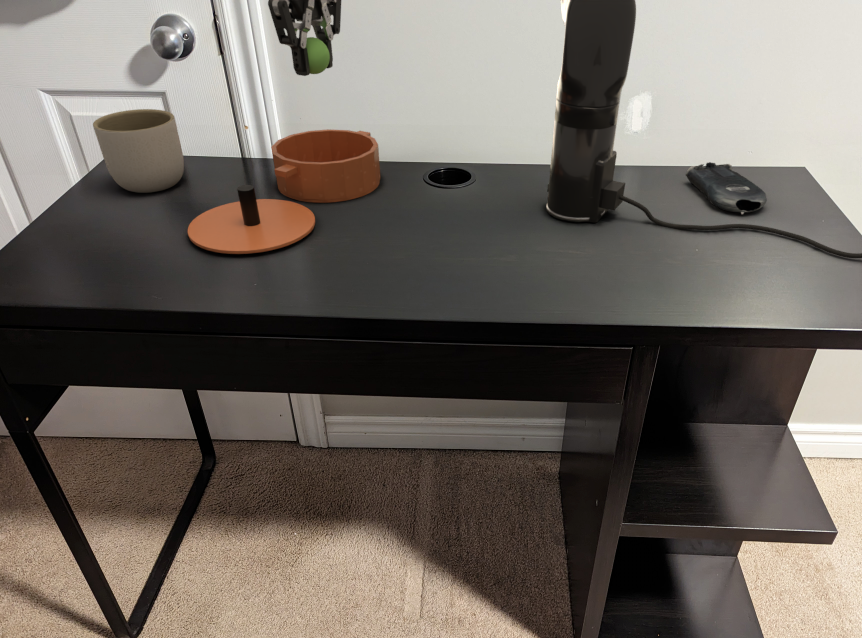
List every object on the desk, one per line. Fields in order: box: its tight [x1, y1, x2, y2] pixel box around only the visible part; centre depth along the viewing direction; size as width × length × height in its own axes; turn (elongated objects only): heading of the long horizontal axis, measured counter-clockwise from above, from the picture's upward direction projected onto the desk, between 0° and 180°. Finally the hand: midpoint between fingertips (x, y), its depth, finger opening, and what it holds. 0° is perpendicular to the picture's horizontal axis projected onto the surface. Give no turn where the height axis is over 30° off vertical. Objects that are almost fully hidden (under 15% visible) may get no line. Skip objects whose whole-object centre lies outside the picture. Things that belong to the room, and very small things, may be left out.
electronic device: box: [685, 161, 768, 215], centre depth 114 cm, size 9×6×15 cm
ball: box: [305, 36, 330, 75], centre depth 102 cm, size 5×5×5 cm
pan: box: [271, 128, 381, 204], centre depth 117 cm, size 18×23×6 cm
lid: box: [187, 184, 316, 255], centre depth 102 cm, size 19×19×7 cm
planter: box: [92, 108, 185, 194], centre depth 115 cm, size 12×12×11 cm
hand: (314, 70), depth 103 cm, fingers closed on ball, 5 cm apart
